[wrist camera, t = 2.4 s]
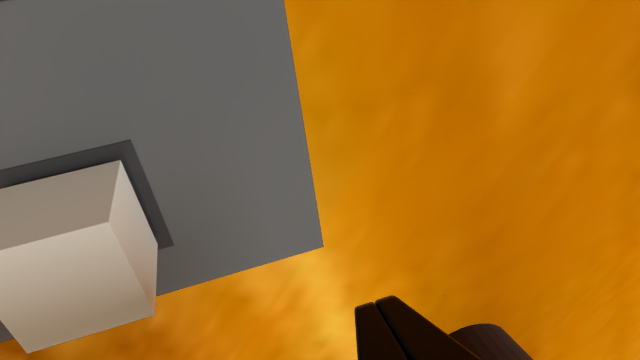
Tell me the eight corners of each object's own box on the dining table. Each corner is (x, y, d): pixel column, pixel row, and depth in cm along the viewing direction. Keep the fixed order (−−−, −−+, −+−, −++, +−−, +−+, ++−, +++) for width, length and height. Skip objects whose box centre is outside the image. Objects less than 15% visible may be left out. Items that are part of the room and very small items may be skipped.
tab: (120, 159, 12) (108, 222, 10) (157, 244, 14) (155, 314, 12) (-2, 189, 12) (-47, 262, 9) (52, 273, 14) (26, 353, 11)
